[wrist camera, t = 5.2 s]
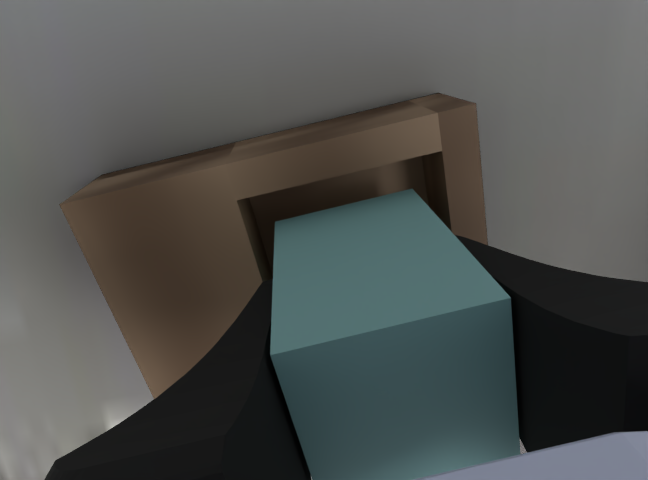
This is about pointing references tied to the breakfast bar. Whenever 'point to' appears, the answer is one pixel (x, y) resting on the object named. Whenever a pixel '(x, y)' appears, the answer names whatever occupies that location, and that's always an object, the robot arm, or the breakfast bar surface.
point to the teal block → (390, 343)
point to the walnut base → (257, 216)
